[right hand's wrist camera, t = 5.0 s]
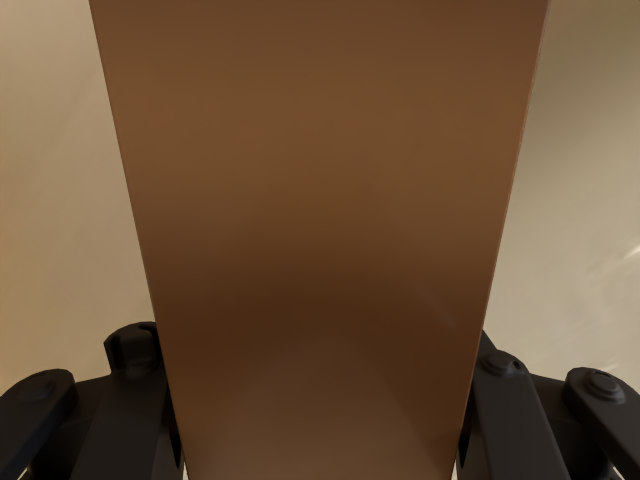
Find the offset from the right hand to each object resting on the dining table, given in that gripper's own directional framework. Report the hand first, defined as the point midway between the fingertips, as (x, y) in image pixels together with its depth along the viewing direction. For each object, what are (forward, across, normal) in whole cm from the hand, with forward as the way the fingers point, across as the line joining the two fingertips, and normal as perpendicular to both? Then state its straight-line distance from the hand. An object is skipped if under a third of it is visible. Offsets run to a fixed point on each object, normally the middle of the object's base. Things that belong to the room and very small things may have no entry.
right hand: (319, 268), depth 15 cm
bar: (+1, 0, -8) cm, 8 cm away
